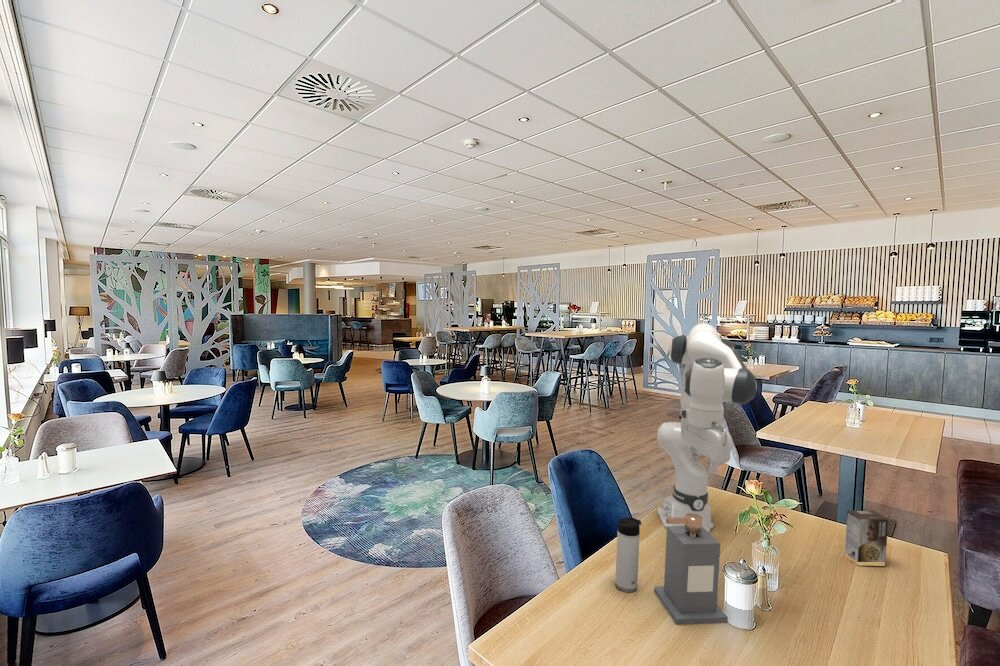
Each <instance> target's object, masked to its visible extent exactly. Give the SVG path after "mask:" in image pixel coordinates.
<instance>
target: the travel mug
mask: <svg viewBox="0 0 1000 666" xmlns="http://www.w3.org/2000/svg"><path fill="white" fill-rule="evenodd" d="M640 526H642V520H641V519H637V518H634V517H623V518H620V519H619V520H618V523H617V531H616V533H617V537H616V555H615V556H616V557H615V581H614V584H615V587H616V588H617V589H619V590H620V591H622V592H624V591H625V593H634V592H635V591H636V590H637V589H638V579H639V578H638V577H639V575H638V574H639V558H640V557H639V555H640V536H641V535H640V530H641V529H640Z"/></svg>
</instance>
